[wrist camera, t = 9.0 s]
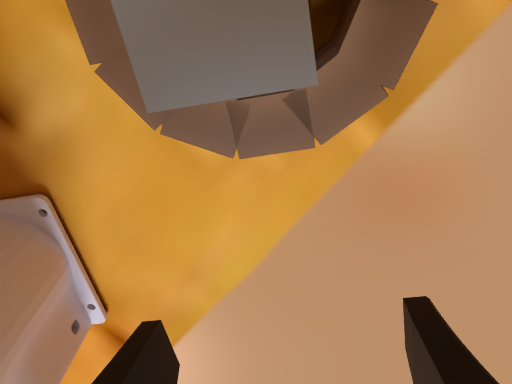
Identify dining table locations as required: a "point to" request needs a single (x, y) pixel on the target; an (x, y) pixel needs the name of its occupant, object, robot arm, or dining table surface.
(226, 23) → the slate peg
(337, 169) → the dining table surface
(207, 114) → the walnut ring
